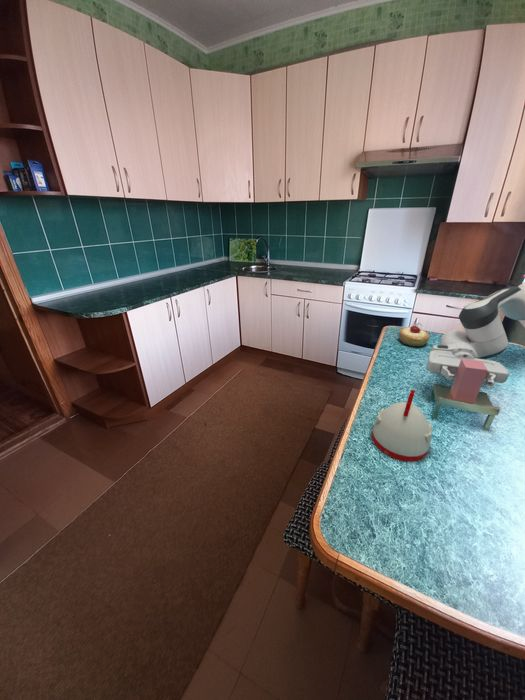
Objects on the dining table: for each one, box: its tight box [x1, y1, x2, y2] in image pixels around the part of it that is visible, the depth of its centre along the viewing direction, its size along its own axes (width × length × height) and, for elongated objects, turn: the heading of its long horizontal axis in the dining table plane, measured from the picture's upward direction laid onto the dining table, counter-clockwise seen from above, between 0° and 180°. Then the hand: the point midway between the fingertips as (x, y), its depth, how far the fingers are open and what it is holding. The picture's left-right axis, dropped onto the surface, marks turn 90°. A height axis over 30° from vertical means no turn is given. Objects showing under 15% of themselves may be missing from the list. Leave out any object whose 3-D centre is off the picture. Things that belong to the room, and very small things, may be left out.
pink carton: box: [450, 359, 488, 403], centre depth 82 cm, size 5×5×11 cm
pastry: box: [398, 322, 431, 348], centre depth 127 cm, size 12×12×9 cm
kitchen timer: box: [371, 389, 433, 462], centre depth 74 cm, size 14×14×15 cm
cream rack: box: [428, 383, 501, 431], centre depth 84 cm, size 14×11×8 cm
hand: (470, 381), depth 80 cm, fingers open, 8 cm apart
